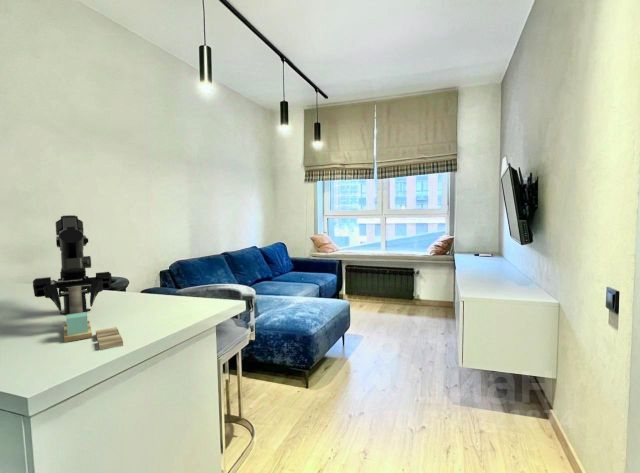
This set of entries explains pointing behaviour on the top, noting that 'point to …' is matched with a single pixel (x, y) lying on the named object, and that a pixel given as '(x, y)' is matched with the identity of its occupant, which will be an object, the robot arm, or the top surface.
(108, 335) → the beige rectangular block
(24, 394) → the top surface
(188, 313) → the top surface
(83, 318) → the cube
